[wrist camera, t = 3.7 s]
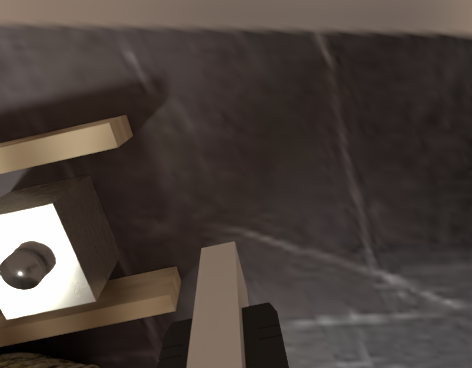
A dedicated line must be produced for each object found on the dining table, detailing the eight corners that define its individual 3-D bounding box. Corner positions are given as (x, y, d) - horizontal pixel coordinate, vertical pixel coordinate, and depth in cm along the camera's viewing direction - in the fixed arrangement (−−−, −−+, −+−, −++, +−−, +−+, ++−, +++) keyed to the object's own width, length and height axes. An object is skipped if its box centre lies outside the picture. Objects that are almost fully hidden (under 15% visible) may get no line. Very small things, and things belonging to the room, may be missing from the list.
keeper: (49, 269, 26) (-2, 329, 20) (11, 191, 24) (-60, 232, 18) (121, 254, 26) (91, 310, 20) (89, 174, 23) (45, 209, 17)
